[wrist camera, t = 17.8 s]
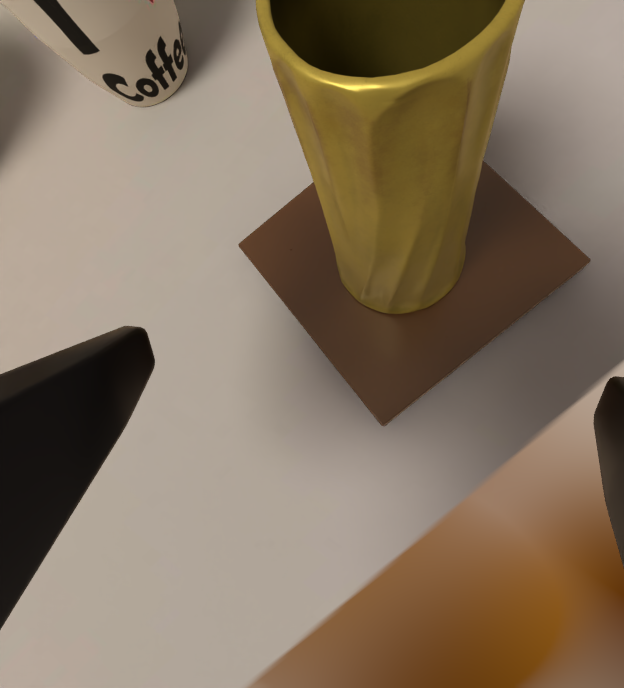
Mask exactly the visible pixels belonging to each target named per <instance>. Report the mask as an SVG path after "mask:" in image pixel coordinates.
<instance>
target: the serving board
mask: <svg viewBox="0 0 624 688" xmlns="http://www.w3.org/2000/svg"><path fill="white" fill-rule="evenodd" d="M465 246H466V254H465V261H464V265H463V269H462V272H461V274H460V276H459V279H458V280H457V282H456V284H455V285H454V287H453V288H452V289H451V290H450V291H449V292H448V293H447V294H446V295H445V296H444V297H443V298H441V299H440V300H439V301H437V302H436V303H434V304H433V305H431V306H429V307H427V308H424V309H422V310H418V311H414V312H410V313H403V314H388V313H383V312H379V311H376V310H374V309H371V308H369V307H367V306H365V305H363V304H362V303H360V302H359V301H357V300H356V299H355V298H354V297H353V296H352V295H351V294H350V292H349V291H348V290H347V289H346V287H345V286H344V285H343V283H342V282H341V278H340V274H339V270H338V266H337V262H336V254H335V251H334V247H333V243H332V239H331V236H330V233H329V229H328V226H327V223H326V219H325V216H324V212H323V209H322V206H321V203H320V199H319V196H318V193H317V190H316V187H315V184H314V182H313V183H312V184H311V185H310V186H308V187H307V188H306V189H305V190H304V191H302V192H301V193H300V194H299V195H297V196H296V197H295V198H294V199H293V200H291V201H290V202H289V203H288V204H287V205H285V206H284V207H283V208H282V209H280V210H279V211H278V212H277V213H276V214H274V215H273V216H272V217H271V218H270V219H268V220H267V221H266V222H265V223H264V224H262V225H261V226H260V227H259V228H257V229H256V230H255V231H254V232H253V233H251V234H250V235H249V236H248V237H247V238H245V239H244V240H243V241H242V242H240V243H239V247H240V248H241V250H242V251H243V252H244V253H245V255H246V256H247V257H248V258H249V260H250V261H251V262H252V263H253V265H254V266H255V267H256V268H257V270H258V271H259V272H260V273H261V275H262V276H263V277H264V278H265V280H266V281H267V282H268V283H269V285H270V286H271V287H272V289H273V290H274V291H275V292H276V294H277V295H278V296H279V297H280V299H281V300H282V301H283V302H284V304H285V305H286V306H287V307H288V309H289V310H290V311H291V312H292V314H293V315H294V316H295V317H296V319H297V320H298V321H299V322H300V324H301V325H302V326H303V327H304V329H305V330H306V331H307V332H308V334H309V335H310V336H311V338H312V339H313V340H314V341H315V343H316V344H317V345H318V346H319V348H320V349H321V350H322V351H323V353H324V354H325V355H326V356H327V358H328V359H329V360H330V361H331V363H332V364H333V365H334V366H335V368H336V369H337V370H338V371H339V373H340V374H341V375H342V376H343V378H344V379H345V380H346V381H347V383H348V384H349V385H350V387H351V388H352V389H353V390H354V392H355V393H356V394H357V395H358V397H359V398H360V399H361V400H362V402H363V403H364V404H365V405H366V407H367V408H368V409H369V410H370V412H371V413H372V414H373V415H374V417H375V418H376V419H377V420H378V422H379V423H380V424H381V425H382V426H385V425H387V424H388V423H389V422H390V421H392V420H393V419H394V418H395V417H397V416H398V415H399V414H400V413H402V412H403V411H404V410H406V409H407V408H408V407H409V406H411V405H412V404H413V403H414V402H416V401H417V400H418V399H419V398H421V397H422V396H423V395H424V394H426V393H427V392H428V391H429V390H431V389H432V388H433V387H434V386H436V385H437V384H438V383H439V382H441V381H442V380H443V379H445V378H446V377H447V376H448V375H450V374H451V373H452V372H453V371H455V370H456V369H457V368H458V367H460V366H461V365H462V364H463V363H465V362H466V361H467V360H468V359H470V358H471V357H472V356H473V355H475V354H476V353H477V352H478V351H480V350H481V349H482V348H484V347H485V346H486V345H487V344H489V343H490V342H491V341H492V340H494V339H495V338H496V337H497V336H499V335H500V334H501V333H502V332H504V331H505V330H506V329H507V328H509V327H510V326H511V325H512V324H514V323H515V322H516V321H517V320H519V319H520V318H521V317H523V316H524V315H525V314H526V313H528V312H529V311H530V310H531V309H533V308H534V307H535V306H536V305H538V304H539V303H540V302H541V301H543V300H544V299H545V298H546V297H548V296H549V295H550V294H551V293H553V292H554V291H555V290H556V289H558V288H559V287H560V286H562V285H563V284H564V283H565V282H567V281H568V280H569V279H570V278H572V277H573V276H574V275H575V274H577V273H578V272H579V271H580V270H582V269H583V268H584V267H585V266H586V265H587V264H588V263H589V262H590V259H589V258H588V257H587V256H586V255H585V254H584V253H583V252H582V251H581V250H580V249H579V248H577V247H576V246H575V245H574V244H573V243H572V242H571V241H570V240H569V239H568V238H567V237H566V236H564V235H563V234H562V233H561V232H560V231H559V230H558V229H557V228H556V227H555V226H554V225H553V224H551V223H550V222H549V221H548V220H547V219H546V218H545V217H544V216H543V215H542V214H541V213H539V212H538V211H537V210H536V209H535V208H534V207H533V206H532V205H531V204H530V203H529V202H528V201H526V200H525V199H524V198H523V197H522V196H521V195H520V194H519V193H518V192H517V191H516V190H515V189H513V188H512V187H511V186H510V185H509V184H508V183H507V182H506V181H505V180H504V179H503V178H502V177H500V176H499V175H498V174H497V173H496V172H495V171H494V170H493V169H492V168H491V167H490V166H489V165H487V164H486V163H485V162H484V161H483V162H482V167H481V172H480V177H479V180H478V184H477V188H476V192H475V197H474V202H473V208H472V213H471V217H470V222H469V226H468V231H467V235H466V239H465Z"/></svg>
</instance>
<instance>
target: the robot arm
mask: <svg viewBox="0 0 624 688" xmlns="http://www.w3.org/2000/svg"><path fill="white" fill-rule="evenodd" d="M154 365H155V359H154V355H153V351H152V348H151V345H150V341H149V338H148V334H147V332H146V331H145V329H143V328H141V327H133V326H123V327H121V328H118V329H116V330H113V331H110V332H108V333H105V334H103V335H100V336H98V337H95V338H92V339H90V340H87V341H85V342H82V343H80V344H77V345H74V346H72V347H69V348H67V349H64V350H62V351H59V352H57V353H54V354H51V355H49V356H46V357H44V358H41V359H39V360H36V361H33V362H31V363H28V364H26V365H23V366H21V367H18V368H15V369H13V370H10V371H8V372H5V373H3V374H0V629H1V628H2V626H3V625H4V623H5V621H6V620H7V618H8V617H9V615H10V613H11V612H12V610H13V608H14V607H15V605H16V604H17V602H18V600H19V599H20V597H21V595H22V594H23V592H24V591H25V589H26V587H27V586H28V584H29V583H30V581H31V579H32V578H33V576H34V574H35V573H36V571H37V570H38V568H39V566H40V565H41V563H42V562H43V560H44V558H45V557H46V555H47V553H48V552H49V550H50V549H51V547H52V545H53V544H54V542H55V541H56V539H57V537H58V536H59V534H60V532H61V531H62V529H63V528H64V526H65V524H66V523H67V521H68V519H69V518H70V516H71V515H72V513H73V511H74V510H75V508H76V507H77V505H78V503H79V502H80V500H81V498H82V497H83V495H84V494H85V492H86V490H87V489H88V487H89V486H90V484H91V482H92V481H93V479H94V477H95V476H96V474H97V473H98V471H99V469H100V468H101V466H102V464H103V463H104V461H105V460H106V458H107V456H108V455H109V453H110V452H111V450H112V448H113V447H114V445H115V443H116V442H117V440H118V439H119V437H120V435H121V434H122V432H123V430H124V428H125V427H126V425H127V423H128V421H129V419H130V417H131V415H132V413H133V411H134V409H135V407H136V405H137V403H138V401H139V398H140V396H141V394H142V392H143V390H144V388H145V386H146V384H147V382H148V380H149V378H150V376H151V374H152V371H153V369H154ZM594 429H595V436H596V443H597V450H598V456H599V463H600V470H601V476H602V484H603V490H604V495H605V501H606V506H607V509H608V513H609V517H610V521H611V524H612V528H613V531H614V534H615V538H616V542H617V545H618V549H619V552H620V556H621V559H622V563H623V567H624V377H612V378H610V379H609V381H608V382H607V384H606V386H605V389H604V391H603V394H602V396H601V398H600V401H599V403H598V406H597V408H596V411H595V414H594Z"/></svg>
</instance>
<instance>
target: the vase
mask: <svg viewBox="0 0 624 688" xmlns="http://www.w3.org/2000/svg"><path fill="white" fill-rule="evenodd" d="M524 1H525V0H256V11H257V16H258V22H259V26H260V30H261V33H262V36H263V39H264V42H265V45H266V48H267V50H268V53H269V56H270V59H271V62H272V66H273V70H274V72H275V75H276V77H277V80H278V83H279V85H280V88H281V90H282V93H283V96H284V99H285V101H286V104H287V107H288V110H289V113H290V116H291V119H292V122H293V125H294V128H295V130H296V133H297V136H298V138H299V141H300V144H301V147H302V149H303V152H304V155H305V158H306V161H307V164H308V166H309V169H310V172H311V175H312V178H313V181H314V184H315V187H316V190H317V193H318V196H319V199H320V203H321V206H322V209H323V212H324V216H325V219H326V223H327V226H328V229H329V233H330V236H331V239H332V243H333V247H334V251H335V254H336V262H337V266H338V270H339V274H340V278H341V282H342V283H343V285H344V286H345V287H346V289H347V290H348V291H349V292H350V294H351V295H352V296H353V297H354V298H355V299H356V300H357V301H359V302H360V303H362V304H363V305H365V306H367V307H369V308H371V309H374V310H376V311H379V312H383V313H388V314H403V313H410V312H414V311H418V310H422V309H424V308H427V307H429V306H431V305H433V304H434V303H436V302H437V301H439V300H440V299H441V298H443V297H444V296H445V295H446V294H447V293H448V292H449V291H450V290H451V289H452V288H453V287H454V285H455V284H456V282H457V280H458V279H459V276H460V274H461V272H462V269H463V265H464V261H465V254H466V246H465V239H466V235H467V231H468V226H469V222H470V217H471V213H472V208H473V202H474V197H475V192H476V188H477V184H478V180H479V177H480V172H481V167H482V162H483V158H484V155H485V151H486V148H487V144H488V141H489V137H490V133H491V130H492V126H493V122H494V118H495V114H496V111H497V107H498V103H499V99H500V95H501V92H502V88H503V85H504V81H505V77H506V73H507V69H508V65H509V60H510V53H511V46H512V43H513V39H514V36H515V32H516V28H517V25H518V21H519V18H520V14H521V11H522V7H523V4H524Z"/></svg>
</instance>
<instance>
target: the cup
mask: <svg viewBox="0 0 624 688" xmlns="http://www.w3.org/2000/svg"><path fill="white" fill-rule="evenodd" d="M0 2H1V3H2V4H3V5H4V6H5V7H6V8H7V9H8V10H9V11H10V12H11V13H12V14H13V15H14V16H15V17H16V18H17V19H18V20H19V21H20V22H21V23H22V24H23V25H24V26H25V27H26V28H28V29H29V30H30V31H31V32H32V33H33V34H34V35H35V36H36V37H37V38H38V39H39V40H41V41H42V42H43V43H44V44H45V45H47V46H48V47H49V48H50V49H52V50H53V51H54V52H55V53H57V54H58V55H59V56H60V57H62V58H63V59H64V60H65V61H67V62H68V63H69V64H70V65H71V66H73V67H74V68H75V69H76V70H78V71H79V72H80V73H81V74H83V75H84V76H85V77H86V78H88V79H89V80H90V81H91V82H93V83H95V84H96V85H98V86H100V87H101V88H103V89H105V90H106V91H108V92H110V93H111V94H113V95H115V96H116V97H118V98H120V99H121V100H123V101H125V102H126V103H128V104H130V105H133V106H138V107H146V106H152V105H155V104H158V103H160V102H162V101H164V100H165V99H167V98H168V97H170V96H171V95H172V94H173V93H174V92H175V91H176V90H177V89H178V88H179V86H180V85H181V83H182V82H183V80H184V78H185V75H186V72H187V67H188V58H187V53H186V49H185V44H184V39H183V34H182V29H181V24H180V20H179V15H178V12H177V9H176V6H175V3H174V1H173V0H0Z"/></svg>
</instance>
